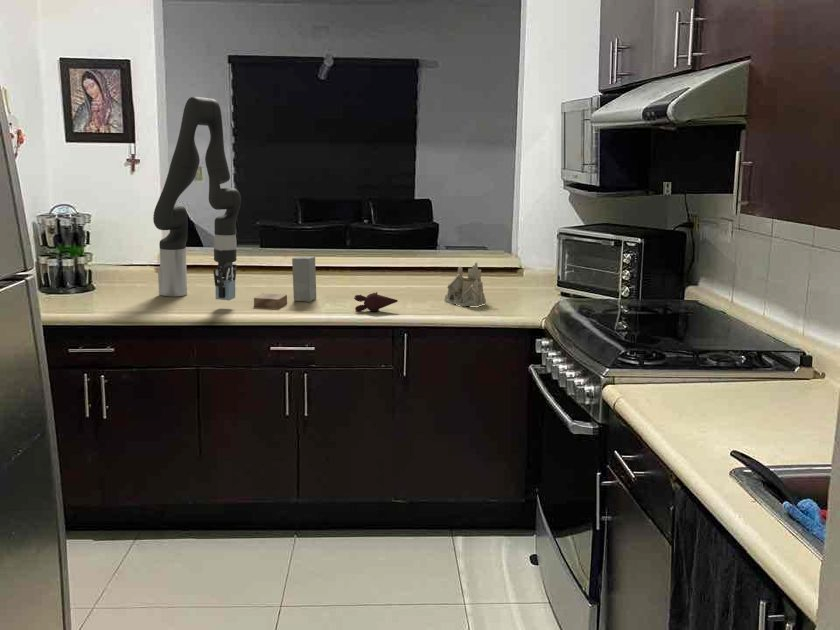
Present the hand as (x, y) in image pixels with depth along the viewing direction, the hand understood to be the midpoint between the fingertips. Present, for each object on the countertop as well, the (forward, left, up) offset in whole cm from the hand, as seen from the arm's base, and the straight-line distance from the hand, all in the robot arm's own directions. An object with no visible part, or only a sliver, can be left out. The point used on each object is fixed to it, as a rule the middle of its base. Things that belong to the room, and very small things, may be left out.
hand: (225, 296), depth 299 cm
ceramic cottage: (+77, +37, -5) cm, 86 cm away
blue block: (0, 0, -1) cm, 1 cm away
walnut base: (+13, +10, -5) cm, 17 cm away
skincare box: (+21, +23, -4) cm, 31 cm away
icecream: (+50, +12, -4) cm, 52 cm away
